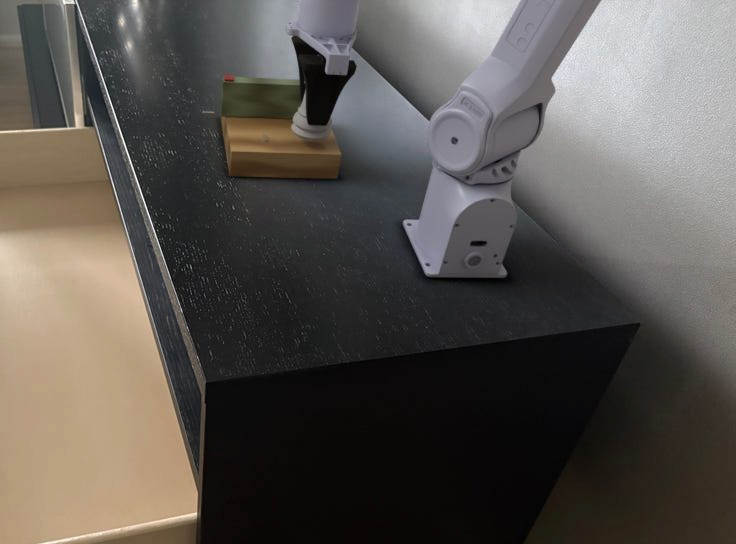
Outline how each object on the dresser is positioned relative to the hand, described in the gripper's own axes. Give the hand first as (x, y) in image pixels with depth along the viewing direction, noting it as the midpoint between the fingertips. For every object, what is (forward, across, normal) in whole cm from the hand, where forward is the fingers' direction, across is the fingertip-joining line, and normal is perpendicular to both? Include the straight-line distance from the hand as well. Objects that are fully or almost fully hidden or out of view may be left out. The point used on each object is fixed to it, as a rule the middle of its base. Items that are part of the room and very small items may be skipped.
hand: (313, 115), depth 81 cm
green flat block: (+3, -6, -5) cm, 8 cm away
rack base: (+6, -5, -4) cm, 9 cm away
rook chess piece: (+2, 0, 0) cm, 2 cm away
